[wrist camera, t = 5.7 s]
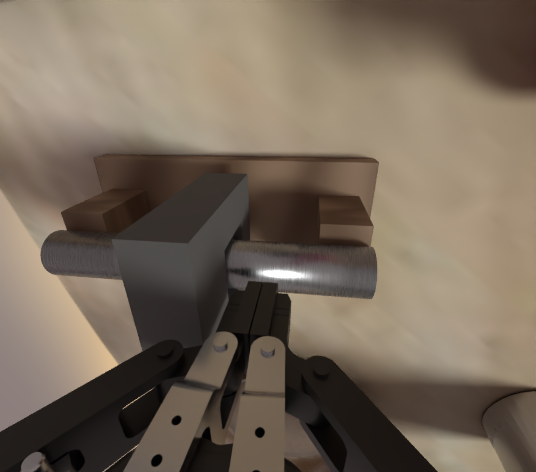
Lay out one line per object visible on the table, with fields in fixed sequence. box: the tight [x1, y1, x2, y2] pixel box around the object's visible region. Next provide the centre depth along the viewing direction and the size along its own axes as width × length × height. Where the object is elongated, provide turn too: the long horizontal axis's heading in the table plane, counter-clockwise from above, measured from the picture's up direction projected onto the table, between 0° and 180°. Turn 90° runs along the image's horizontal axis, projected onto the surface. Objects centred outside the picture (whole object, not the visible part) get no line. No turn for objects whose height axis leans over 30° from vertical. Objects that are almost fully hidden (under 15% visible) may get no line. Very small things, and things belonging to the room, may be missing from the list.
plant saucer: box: [225, 374, 331, 472], centre depth 35 cm, size 21×21×3 cm
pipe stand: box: [61, 155, 379, 247], centre depth 22 cm, size 22×10×7 cm, turn 90°
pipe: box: [41, 230, 377, 299], centre depth 18 cm, size 20×3×3 cm, turn 90°
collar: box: [111, 173, 250, 389], centre depth 17 cm, size 3×9×10 cm, turn 1°
